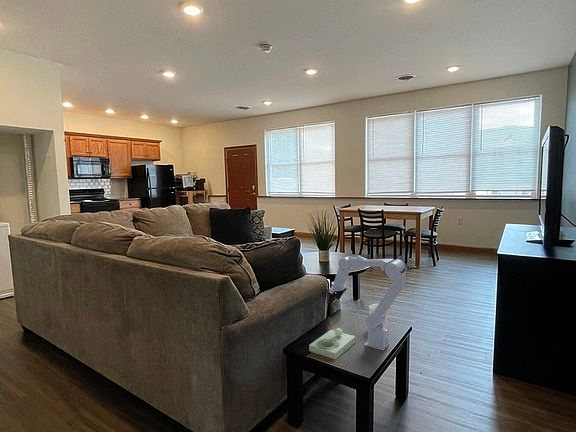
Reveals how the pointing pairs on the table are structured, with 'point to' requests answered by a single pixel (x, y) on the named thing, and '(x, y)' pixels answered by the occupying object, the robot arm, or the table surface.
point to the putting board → (332, 344)
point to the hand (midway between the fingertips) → (333, 300)
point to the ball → (338, 332)
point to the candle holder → (373, 307)
